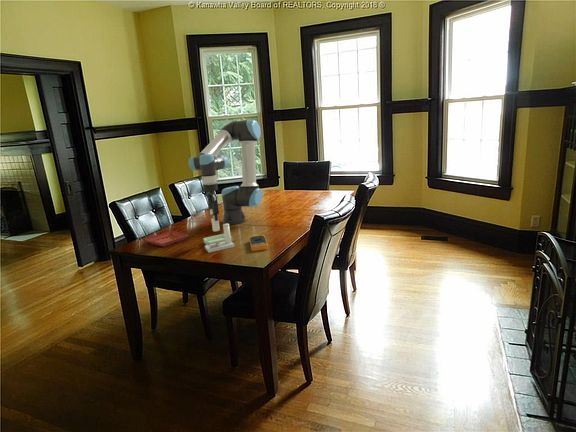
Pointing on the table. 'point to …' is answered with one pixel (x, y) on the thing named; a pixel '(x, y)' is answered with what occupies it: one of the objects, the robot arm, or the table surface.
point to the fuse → (227, 233)
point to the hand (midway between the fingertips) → (215, 225)
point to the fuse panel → (218, 246)
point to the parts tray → (215, 239)
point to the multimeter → (258, 243)
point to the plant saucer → (166, 240)
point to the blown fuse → (213, 222)
